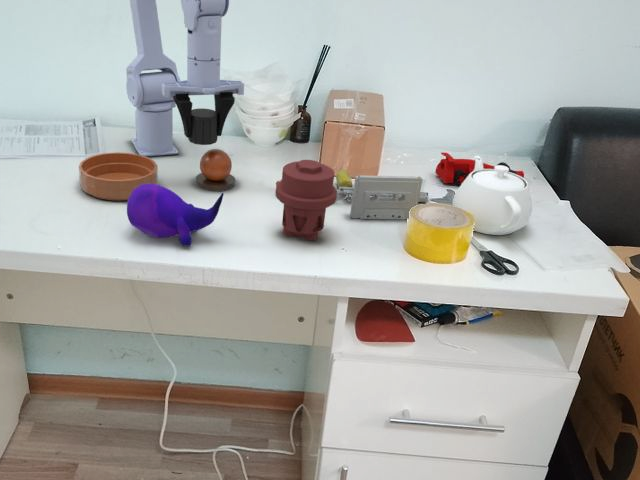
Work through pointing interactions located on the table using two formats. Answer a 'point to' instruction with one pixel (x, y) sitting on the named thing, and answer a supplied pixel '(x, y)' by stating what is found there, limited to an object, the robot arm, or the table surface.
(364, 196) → the cassette
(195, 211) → the toy
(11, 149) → the table surface
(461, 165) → the toy car
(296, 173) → the mechanical component
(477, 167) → the teapot
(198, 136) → the cap
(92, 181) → the round terracotta dish
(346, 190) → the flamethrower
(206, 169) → the sphere on round base
